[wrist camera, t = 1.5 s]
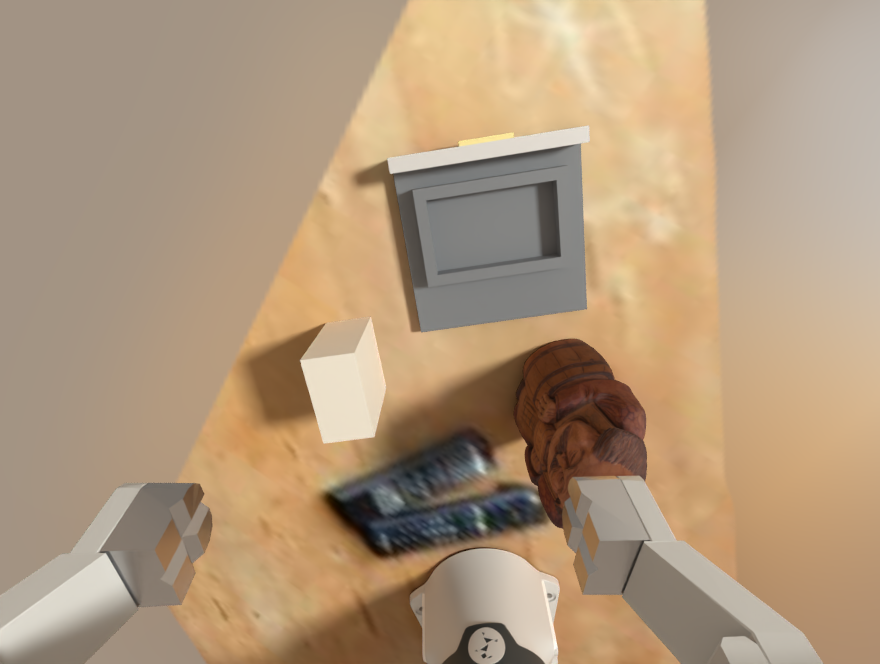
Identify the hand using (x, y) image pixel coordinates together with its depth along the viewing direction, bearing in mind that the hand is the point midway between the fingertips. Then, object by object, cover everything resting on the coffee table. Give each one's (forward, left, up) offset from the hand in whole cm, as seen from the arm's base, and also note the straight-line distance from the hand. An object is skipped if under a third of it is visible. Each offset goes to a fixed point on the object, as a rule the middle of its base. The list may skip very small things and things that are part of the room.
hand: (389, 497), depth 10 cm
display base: (-1, -6, -34) cm, 35 cm away
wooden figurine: (-17, -10, -34) cm, 39 cm away
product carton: (-11, +9, -34) cm, 37 cm away
